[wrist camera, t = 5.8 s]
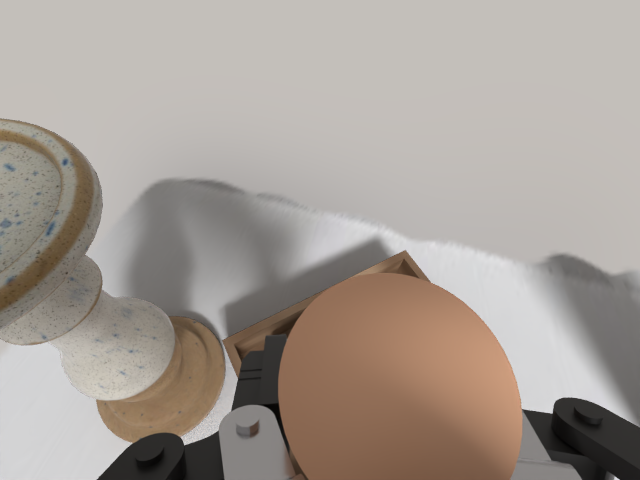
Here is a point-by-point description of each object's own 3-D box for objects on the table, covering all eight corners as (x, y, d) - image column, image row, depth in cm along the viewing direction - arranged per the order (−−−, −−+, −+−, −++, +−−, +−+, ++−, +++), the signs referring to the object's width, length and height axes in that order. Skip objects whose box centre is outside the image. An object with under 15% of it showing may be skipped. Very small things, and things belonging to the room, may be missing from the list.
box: (394, 271, 32) (405, 250, 29) (484, 393, 27) (510, 384, 24) (230, 354, 27) (222, 340, 24) (302, 526, 22) (304, 538, 18)
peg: (349, 363, 16) (418, 242, 7) (399, 448, 15) (575, 432, 5) (273, 409, 15) (239, 333, 6) (318, 508, 13) (367, 617, 4)
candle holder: (199, 301, 29) (71, 74, 12) (246, 396, 25) (158, 263, 8) (87, 357, 26) (-293, 160, 9) (123, 475, 22) (-408, 516, 5)
